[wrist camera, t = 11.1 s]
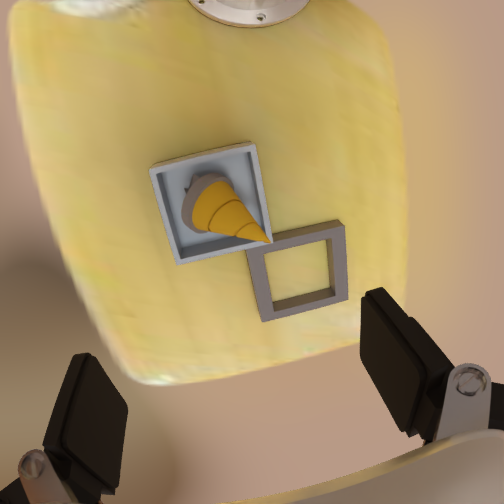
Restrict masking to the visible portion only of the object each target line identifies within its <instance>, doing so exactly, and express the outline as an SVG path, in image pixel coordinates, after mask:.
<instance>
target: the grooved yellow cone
mask: <svg viewBox="0 0 504 504" xmlns="http://www.w3.org/2000/svg"><path fill="white" fill-rule="evenodd" d="M184 189H185V192H186V196H185V198H184V201H183V204H182V209H181V217H182V221H183V223H184V224H185V225H186V226H187V227H188V228H190V229H191V230H192V231H194V232H195V233H198V234H203V233H207V232H214V233H219V234H224V235H229V236H236V235H237V236H236V237H239V238H244V239H249V240H254V241H259V242H261V241H263V242H264V243H269V244H270V243H271V241H270V240H269V238H268V237H267V236H266V234H265V233H264V231H263V230H262V229H261V227H260V226H259V225H258V223H257V222H256V221H255V219H254V218H253V216H252V215H251V214H250V212H249V211H248V210H247V208H246V207H245V205H244V204H243V203H242V201H241V200H240V199H239V197H238V196H237V195H236V193H235V192H234V185H233V183H232V181H231V180H230V179H229V178H227V177H225V176H223V175H221V174H219V173H209V174H206V175H204V176H202V177H201V178H200V177H198V176H196V175H195V174H193V176H192V179H191V182H190V186H189V189H187V188H184Z"/></svg>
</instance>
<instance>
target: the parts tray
mask: <svg viewBox="0 0 504 504" xmlns="http://www.w3.org/2000/svg"><path fill="white" fill-rule="evenodd" d="M209 173H219V174H221V175H223V176H225V177H227V178H229V179H230V180H231V181H232V183H233V185H234V192H235V193H236V195H237V196H238V197H239V199H240V200H241V201H242V203H243V204H244V205H245V207H246V208H247V210H248V211H249V212H250V214H251V215H252V216H253V218H254V219H255V221H256V222H257V223H258V225H259V226H260V227H261V229H262V230H263V231H264V233H265V234H266V236H267V237H268V238H269V240H270V241H271V243H273V238H272V232H271V226H270V221H269V215H268V209H267V204H266V198H265V193H264V188H263V182H262V177H261V171H260V166H259V161H258V156H257V150H256V145H255V144H254V143H252V142H251V141H249V142H244V143H239V144H235V145H230V146H225V147H221V148H216V149H212V150H208V151H203V152H199V153H195V154H191V155H187V156H183V157H179V158H175V159H171V160H168V161H164V162H160V163H156V164H154V165H153V166H152V167H151V168H150V169H149V174H150V177H151V181H152V185H153V188H154V192H155V195H156V199H157V202H158V206H159V209H160V213H161V216H162V220H163V223H164V226H165V230H166V233H167V236H168V239H169V243H170V246H171V249H172V252H173V255H174V259H175V262H176V265H181V264H185V263H189V262H193V261H198V260H202V259H206V258H211V257H215V256H219V255H223V254H228V253H232V252H236V251H241V250H245V249H249V248H254V247H258V246H262V245H266V244H269V243H264V242H263V241H261V242H259V241H254V240H249V239H244V238H239V237H236V236H237V235H236V236H229V235H224V234H219V233H214V232H207V233H203V234H198V233H195V232H194V231H192V230H191V229H190V228H188V227H187V226H186V225H185V224H184V223H183V221H182V217H181V209H182V204H183V201H184V198H185V196H186V192H185V189H184V188H187V189H189V186H190V182H191V179H192V176H193V174H195V175H196V176H198V177H200V178H201V177H202V176H204V175H206V174H209ZM271 243H270V244H271Z"/></svg>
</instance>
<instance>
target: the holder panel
mask: <svg viewBox="0 0 504 504" xmlns="http://www.w3.org/2000/svg"><path fill="white" fill-rule="evenodd" d="M272 238H273V243H271V244H266V245H262V246H258V247H254V248H249V249H245V250H246V255H247V259H248V264H249V268H250V273H251V278H252V282H253V287H254V291H255V296H256V300H257V305H258V309H259V314H260V317H261V321H262V322H266V321H270V320H274V319H278V318H282V317H286V316H290V315H294V314H298V313H302V312H306V311H309V310H313V309H317V308H321V307H324V306H328V305H331V304H335V303H338V302H342V301H345V300H348V275H347V255H346V239H345V226H344V225H343V224H342V223H341V222H340V221H339V220H334V221H330V222H325V223H321V224H316V225H312V226H307V227H303V228H298V229H294V230H290V231H285V232H281V233H276V234H272ZM325 239H326V243H327V254H328V266H329V278H330V288H327V289H323V290H320V291H316V292H312V293H308V294H304V295H300V296H297V297H293V298H289V299H285V300H281V301H277V302H272V298H271V293H270V288H269V283H268V277H267V272H266V267H265V262H264V256H263V254H266V253H270V252H274V251H278V250H283V249H287V248H291V247H295V246H300V245H304V244H308V243H312V242H317V241H321V240H325Z"/></svg>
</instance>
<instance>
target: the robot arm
mask: <svg viewBox="0 0 504 504" xmlns="http://www.w3.org/2000/svg"><path fill="white" fill-rule="evenodd" d="M188 1H189V2H190V3H191V4H192V6H194V7H195V8H196V9H197V10H198V11H200V12H201V13H202V14H204V15H206V16H207V17H209V18H211V19H213V20H215V21H218V22H221V23H223V24H227V25H232V26H236V27H248V28H254V27H265V26H270V25H274V24H278V23H280V22H283V21H285V20H288V19H289V18H291V17H292V16H294V15H295V14H297V13H298V12H299V11H300V10H301V9H303V8H304V7H305V5H306V4H307V3H308V2H309V1H310V0H188ZM200 1H204V3H203V4H200V3H199V2H200ZM257 18H262V21H259V20H257ZM360 358H361V361H362V363H363V365H364V367H365V368H366V370H367V372H368V374H369V375H370V377H371V379H372V381H373V383H374V384H375V386H376V388H377V390H378V391H379V393H380V395H381V397H382V399H383V401H384V402H385V404H386V406H387V408H388V410H389V411H390V413H391V415H392V417H393V419H394V421H395V423H396V424H397V426H398V428H399V430H400V431H401V432H404V431H405V432H406V433H407V435H408V437H409V438H410V437H412V436H414V435H416V434H418V433H419V435H420V437H421V438H422V439H424V441H423V445H422V447H420V448H418V449H415V450H413V451H410V452H408V453H406V454H403V455H401V456H399V457H396V458H393V459H391V460H388V461H386V462H383V463H381V464H378V465H375V466H373V467H370V468H367V469H364V470H361V471H358V472H355V473H352V474H350V475H346V476H343V477H340V478H337V479H334V480H331V481H327V482H324V483H320V484H316V485H313V486H309V487H305V488H301V489H297V490H293V491H289V492H284V493H279V494H274V495H270V496H264V497H259V498H253V499H247V500H240V501H234V502H226V503H218V504H504V384H499V383H494V382H491V378H490V376H489V374H488V372H487V371H486V370H485V369H484V368H483V367H481V366H479V365H476V364H472V363H465V364H462V365H458V366H457V367H454V365H453V364H452V363H451V362H450V360H449V359H448V358H447V357H446V355H445V354H444V353H443V352H442V351H441V349H440V348H439V347H438V346H437V345H436V343H435V342H434V341H433V340H432V338H431V337H430V336H429V335H428V334H427V333H426V331H425V330H424V329H423V328H422V327H421V325H420V324H419V323H418V322H417V321H416V320H415V319H414V318H413V317H408V315H407V314H406V313H405V312H404V311H403V310H402V308H401V307H400V306H399V305H398V304H397V303H396V302H395V300H394V299H393V298H392V297H391V296H390V295H389V294H388V292H387V291H386V290H385V289H384V288H383V287H379V288H376V289H373V290H369V291H367V292H366V293H365V296H364V297H362V298H361V331H360ZM127 415H128V407H127V404H126V402H125V400H124V399H123V398H122V396H121V395H120V393H119V392H118V390H117V389H116V388H115V386H114V385H113V383H112V382H111V380H110V379H109V377H108V376H107V374H106V373H105V371H104V369H103V368H102V366H101V365H100V363H99V362H98V360H97V358H96V357H94V356H92V355H91V354H90V353H81V354H75V355H74V356H73V357H72V360H71V362H70V365H69V367H68V370H67V373H66V375H65V378H64V381H63V383H62V386H61V389H60V392H59V394H58V397H57V400H56V403H55V406H54V409H53V412H52V415H51V418H50V421H49V424H48V427H47V430H46V434H45V437H44V441H43V444H42V445H43V446H44V447H45V448H44V452H43V451H42V450H38V449H33V450H30V451H28V452H26V453H25V454H24V455H23V456H22V458H21V459H20V461H19V464H18V474H19V478H17V479H16V480H15V481H13V482H12V483H11V484H9V485H8V486H7V487H5V488H4V489H3V490H1V491H0V504H104V503H103V502H102V501H101V499H100V498H101V494H106V495H115V488H117V487H118V486H119V479H120V469H121V460H122V452H123V444H124V436H125V428H126V422H127Z"/></svg>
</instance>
